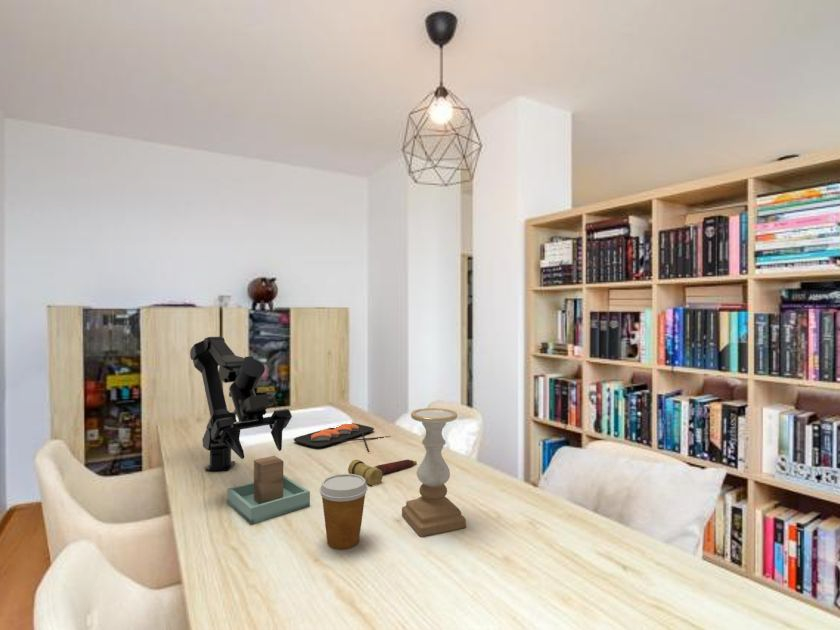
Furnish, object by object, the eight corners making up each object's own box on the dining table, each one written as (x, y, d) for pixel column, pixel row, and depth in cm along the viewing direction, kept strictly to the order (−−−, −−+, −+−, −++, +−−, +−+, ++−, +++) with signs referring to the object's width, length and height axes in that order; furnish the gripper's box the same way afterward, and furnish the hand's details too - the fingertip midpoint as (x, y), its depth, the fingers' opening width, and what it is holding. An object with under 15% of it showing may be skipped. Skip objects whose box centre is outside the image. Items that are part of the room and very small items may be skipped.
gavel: (406, 450, 140) (428, 458, 132) (405, 465, 140) (427, 474, 132) (348, 460, 126) (369, 470, 118) (347, 477, 126) (368, 488, 118)
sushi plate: (349, 427, 180) (349, 417, 180) (410, 440, 162) (410, 430, 162) (289, 444, 156) (289, 433, 156) (352, 462, 138) (352, 450, 138)
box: (227, 503, 108) (227, 488, 108) (283, 488, 117) (283, 474, 117) (250, 524, 97) (250, 508, 97) (309, 506, 107) (309, 491, 106)
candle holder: (400, 514, 103) (401, 409, 102) (444, 507, 107) (445, 405, 107) (419, 537, 93) (421, 420, 92) (467, 527, 97) (468, 416, 96)
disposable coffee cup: (375, 534, 94) (375, 476, 94) (353, 558, 85) (354, 494, 85) (334, 526, 97) (334, 470, 97) (309, 548, 88) (309, 487, 88)
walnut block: (253, 500, 107) (253, 460, 107) (273, 494, 111) (274, 455, 110) (262, 507, 103) (262, 465, 103) (283, 501, 107) (283, 460, 107)
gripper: (215, 385, 107) (231, 443, 99) (289, 378, 119) (309, 429, 111) (204, 412, 113) (219, 469, 105) (275, 402, 125) (293, 452, 117)
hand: (262, 453), depth 110 cm, fingers open, 9 cm apart
